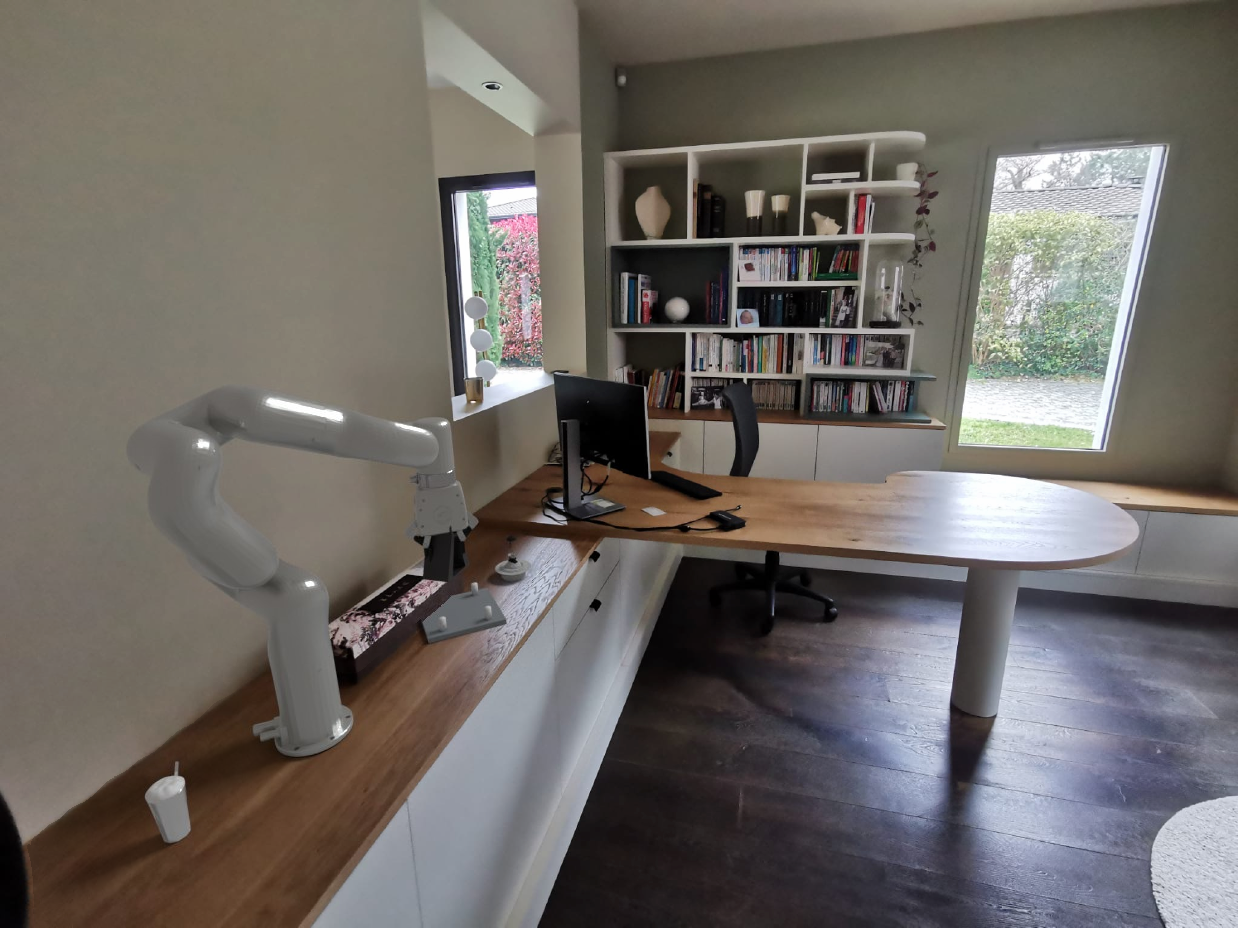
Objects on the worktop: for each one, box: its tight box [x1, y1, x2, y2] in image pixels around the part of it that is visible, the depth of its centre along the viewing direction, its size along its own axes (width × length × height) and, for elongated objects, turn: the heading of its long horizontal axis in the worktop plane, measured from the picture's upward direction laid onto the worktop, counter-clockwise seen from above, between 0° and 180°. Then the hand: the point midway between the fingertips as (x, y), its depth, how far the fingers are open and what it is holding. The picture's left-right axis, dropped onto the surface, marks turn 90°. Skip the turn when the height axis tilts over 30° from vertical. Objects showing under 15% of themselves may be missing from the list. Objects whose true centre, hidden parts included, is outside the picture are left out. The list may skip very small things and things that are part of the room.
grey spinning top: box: [494, 534, 532, 582], centre depth 164 cm, size 12×10×10 cm
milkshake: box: [144, 761, 192, 844], centre depth 86 cm, size 4×5×10 cm
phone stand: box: [422, 526, 471, 583], centre depth 125 cm, size 9×6×12 cm, turn 165°
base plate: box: [420, 582, 508, 644], centre depth 145 cm, size 18×18×4 cm
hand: (445, 558), depth 126 cm, fingers closed on phone stand, 5 cm apart
